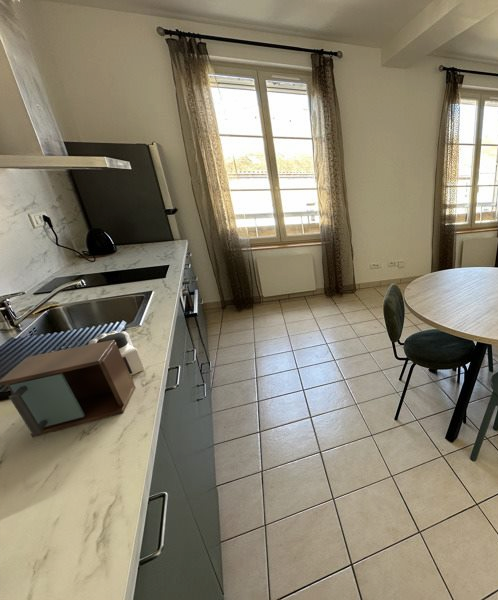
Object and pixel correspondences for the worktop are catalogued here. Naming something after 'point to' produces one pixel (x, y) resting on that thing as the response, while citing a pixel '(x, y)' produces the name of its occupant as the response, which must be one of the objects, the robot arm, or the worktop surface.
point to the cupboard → (82, 379)
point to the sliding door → (45, 402)
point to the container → (125, 352)
